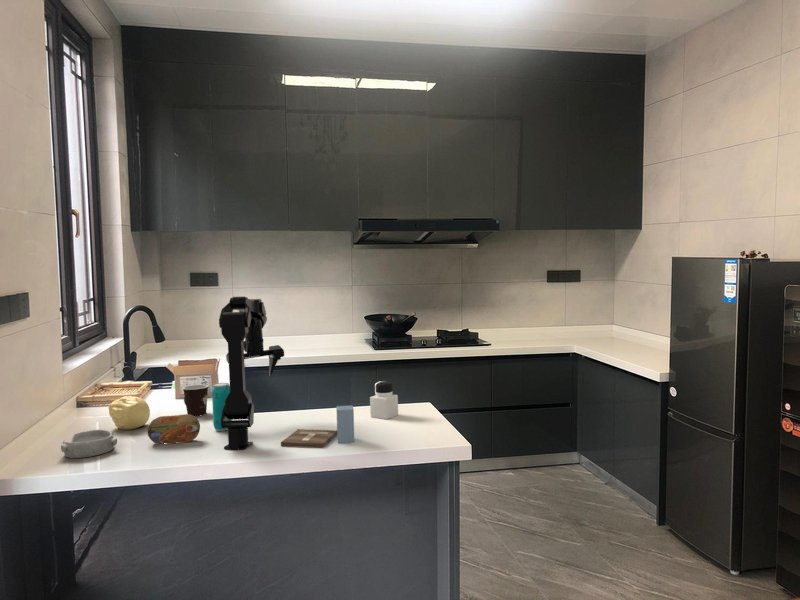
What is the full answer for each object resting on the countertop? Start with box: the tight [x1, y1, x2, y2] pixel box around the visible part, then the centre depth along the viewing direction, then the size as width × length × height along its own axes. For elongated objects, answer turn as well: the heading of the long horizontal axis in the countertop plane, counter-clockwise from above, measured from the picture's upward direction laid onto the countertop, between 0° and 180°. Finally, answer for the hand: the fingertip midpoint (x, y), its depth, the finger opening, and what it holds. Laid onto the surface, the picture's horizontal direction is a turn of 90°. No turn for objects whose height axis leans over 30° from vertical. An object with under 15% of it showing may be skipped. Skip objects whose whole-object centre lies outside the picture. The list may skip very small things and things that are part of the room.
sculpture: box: [108, 395, 151, 431], centre depth 207 cm, size 12×12×11 cm
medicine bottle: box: [369, 380, 399, 420], centre depth 214 cm, size 7×7×12 cm
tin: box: [147, 413, 201, 445], centre depth 188 cm, size 15×3×8 cm, turn 101°
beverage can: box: [211, 382, 230, 432], centre depth 201 cm, size 6×6×15 cm
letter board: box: [280, 428, 337, 449], centre depth 187 cm, size 14×13×1 cm
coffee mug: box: [182, 384, 209, 417], centre depth 222 cm, size 12×9×10 cm
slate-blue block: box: [336, 405, 355, 444], centre depth 186 cm, size 5×5×10 cm
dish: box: [60, 429, 118, 459], centre depth 181 cm, size 14×14×5 cm
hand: (257, 378), depth 212 cm, fingers open, 9 cm apart
